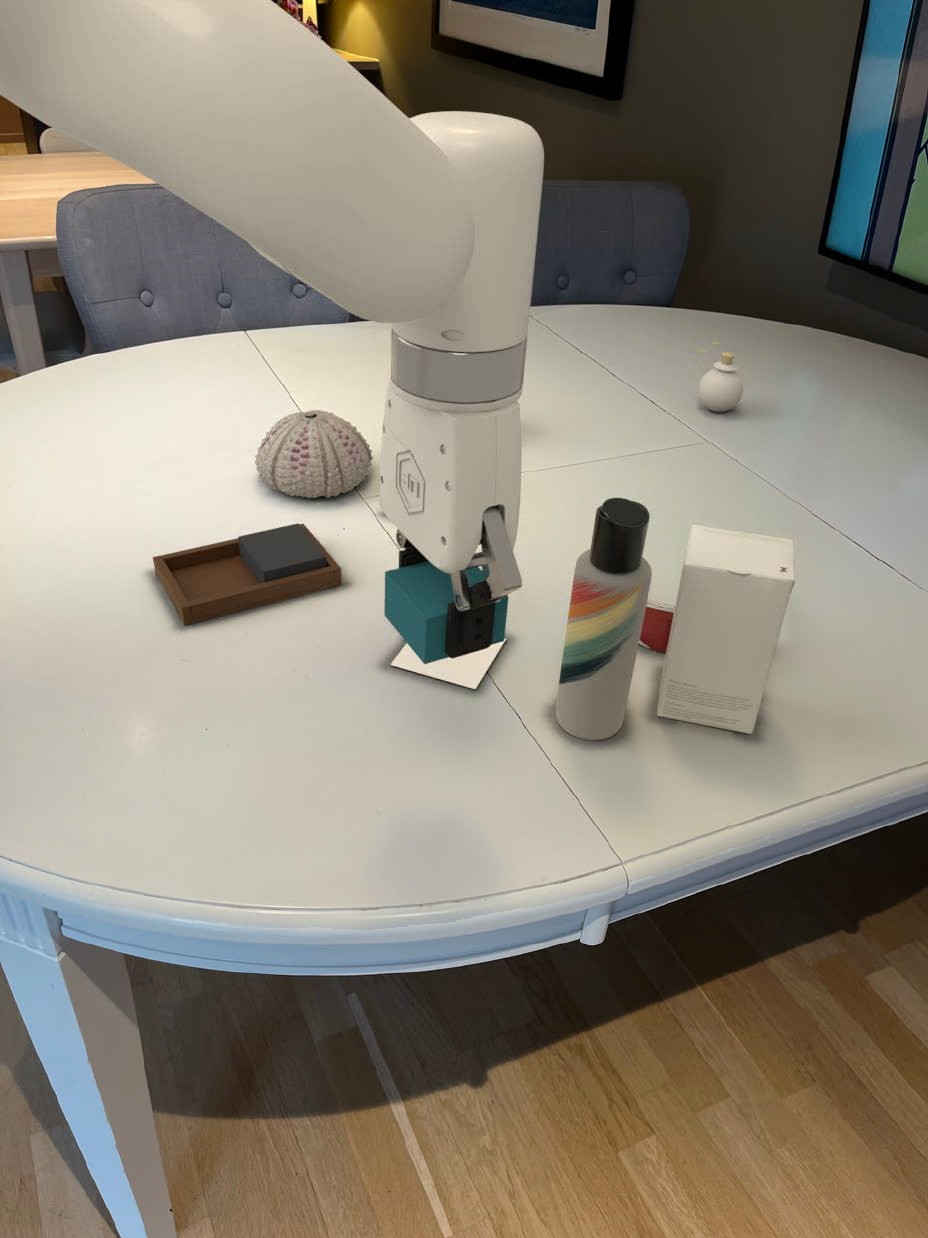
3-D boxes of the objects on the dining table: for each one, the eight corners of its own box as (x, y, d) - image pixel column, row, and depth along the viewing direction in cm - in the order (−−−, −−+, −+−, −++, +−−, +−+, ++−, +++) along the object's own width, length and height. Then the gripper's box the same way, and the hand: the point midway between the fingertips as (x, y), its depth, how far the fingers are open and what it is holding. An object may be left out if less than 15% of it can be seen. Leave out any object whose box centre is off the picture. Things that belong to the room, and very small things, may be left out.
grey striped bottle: (588, 688, 83) (621, 481, 71) (637, 723, 79) (680, 512, 68) (540, 713, 80) (567, 501, 68) (589, 752, 76) (626, 535, 65)
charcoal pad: (265, 593, 91) (263, 571, 90) (239, 556, 96) (237, 536, 95) (327, 577, 94) (326, 556, 93) (299, 543, 99) (298, 522, 98)
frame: (184, 625, 87) (181, 607, 86) (155, 574, 94) (152, 556, 93) (341, 585, 94) (341, 568, 93) (304, 539, 100) (303, 523, 99)
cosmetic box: (754, 691, 84) (800, 538, 74) (752, 740, 78) (801, 582, 69) (658, 671, 85) (692, 519, 76) (650, 718, 80) (684, 560, 71)
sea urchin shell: (327, 518, 104) (325, 451, 100) (231, 485, 109) (224, 420, 105) (393, 473, 114) (394, 409, 109) (301, 444, 119) (298, 383, 114)
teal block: (424, 665, 61) (426, 618, 59) (384, 615, 65) (384, 571, 63) (504, 641, 63) (509, 596, 61) (460, 595, 68) (463, 551, 66)
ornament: (736, 421, 132) (752, 350, 126) (682, 412, 134) (695, 342, 128) (739, 405, 137) (755, 336, 131) (687, 397, 138) (701, 328, 132)
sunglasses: (592, 650, 87) (600, 599, 85) (593, 579, 102) (599, 535, 100) (786, 674, 85) (798, 623, 83) (757, 599, 101) (767, 554, 98)
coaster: (426, 617, 90) (426, 610, 89) (506, 638, 88) (506, 631, 87) (390, 664, 84) (390, 657, 83) (475, 689, 82) (475, 682, 81)
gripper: (335, 321, 58) (340, 572, 68) (476, 432, 46) (456, 716, 56) (444, 309, 61) (433, 550, 72) (602, 409, 49) (561, 681, 60)
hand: (443, 621), depth 64 cm, fingers closed on teal block, 6 cm apart
